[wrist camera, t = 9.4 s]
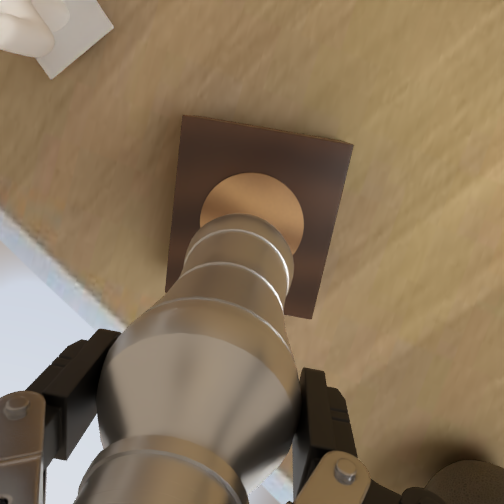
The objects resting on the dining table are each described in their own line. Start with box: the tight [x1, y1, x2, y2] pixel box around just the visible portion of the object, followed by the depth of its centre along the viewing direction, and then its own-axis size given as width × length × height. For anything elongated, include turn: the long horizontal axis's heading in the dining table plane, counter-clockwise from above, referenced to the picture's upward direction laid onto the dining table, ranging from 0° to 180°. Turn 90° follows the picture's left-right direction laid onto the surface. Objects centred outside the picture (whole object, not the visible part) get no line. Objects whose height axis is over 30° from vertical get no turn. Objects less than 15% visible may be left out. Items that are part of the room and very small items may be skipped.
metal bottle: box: [73, 213, 302, 504], centre depth 17 cm, size 6×7×20 cm
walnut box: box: [165, 115, 354, 319], centre depth 37 cm, size 16×14×6 cm
